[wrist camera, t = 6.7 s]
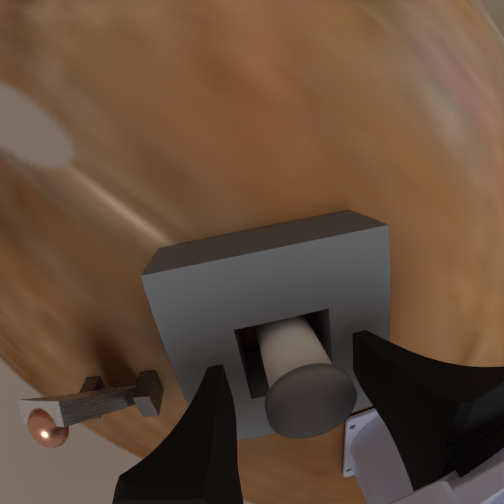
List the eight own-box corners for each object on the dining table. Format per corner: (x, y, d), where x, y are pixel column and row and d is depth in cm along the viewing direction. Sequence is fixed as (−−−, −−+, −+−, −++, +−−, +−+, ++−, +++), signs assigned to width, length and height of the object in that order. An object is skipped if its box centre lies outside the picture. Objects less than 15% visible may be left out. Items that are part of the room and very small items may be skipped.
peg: (306, 333, 17) (354, 425, 10) (251, 343, 17) (272, 445, 10) (302, 282, 16) (359, 362, 9) (242, 292, 16) (261, 385, 9)
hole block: (357, 362, 18) (383, 401, 14) (206, 398, 18) (206, 444, 14) (350, 210, 15) (388, 224, 12) (159, 248, 15) (140, 275, 11)
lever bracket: (163, 389, 17) (158, 415, 15) (97, 395, 17) (87, 418, 15) (155, 370, 17) (148, 396, 15) (86, 377, 17) (75, 400, 14)
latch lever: (138, 384, 17) (145, 416, 16) (105, 387, 16) (112, 418, 16) (50, 399, 8) (63, 454, 7) (9, 398, 8) (21, 448, 7)
